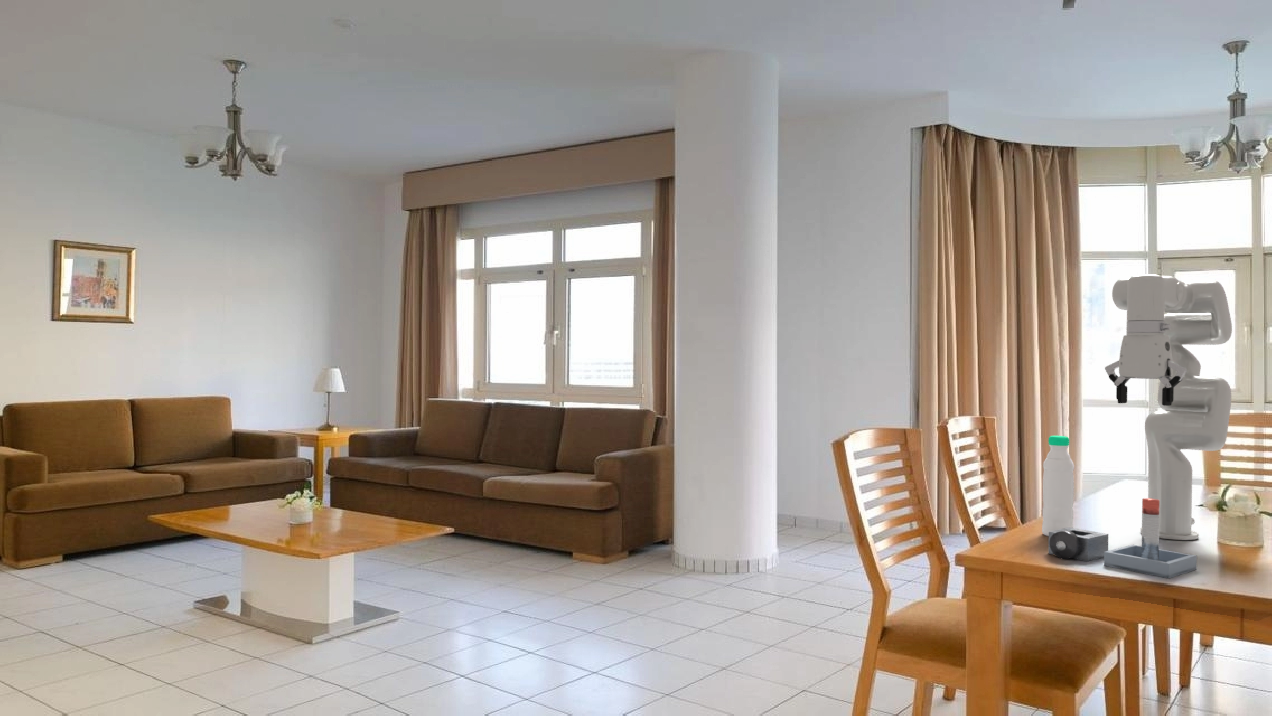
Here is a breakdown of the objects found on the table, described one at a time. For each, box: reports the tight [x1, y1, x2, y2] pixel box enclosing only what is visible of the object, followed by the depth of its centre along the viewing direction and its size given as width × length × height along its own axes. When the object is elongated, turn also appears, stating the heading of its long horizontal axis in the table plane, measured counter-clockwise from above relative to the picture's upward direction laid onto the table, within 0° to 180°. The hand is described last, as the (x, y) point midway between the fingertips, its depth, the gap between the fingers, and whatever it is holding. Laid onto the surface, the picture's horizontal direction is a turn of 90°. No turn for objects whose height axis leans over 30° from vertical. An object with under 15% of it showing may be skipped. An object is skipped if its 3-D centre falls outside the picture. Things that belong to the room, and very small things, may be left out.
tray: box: [1103, 544, 1198, 579], centre depth 191 cm, size 13×13×3 cm
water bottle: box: [1041, 435, 1075, 537], centre depth 224 cm, size 7×7×25 cm
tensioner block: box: [1048, 527, 1109, 562], centre depth 202 cm, size 12×9×6 cm
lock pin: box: [1141, 497, 1160, 561], centre depth 191 cm, size 3×3×14 cm
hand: (1144, 404), depth 204 cm, fingers open, 9 cm apart
